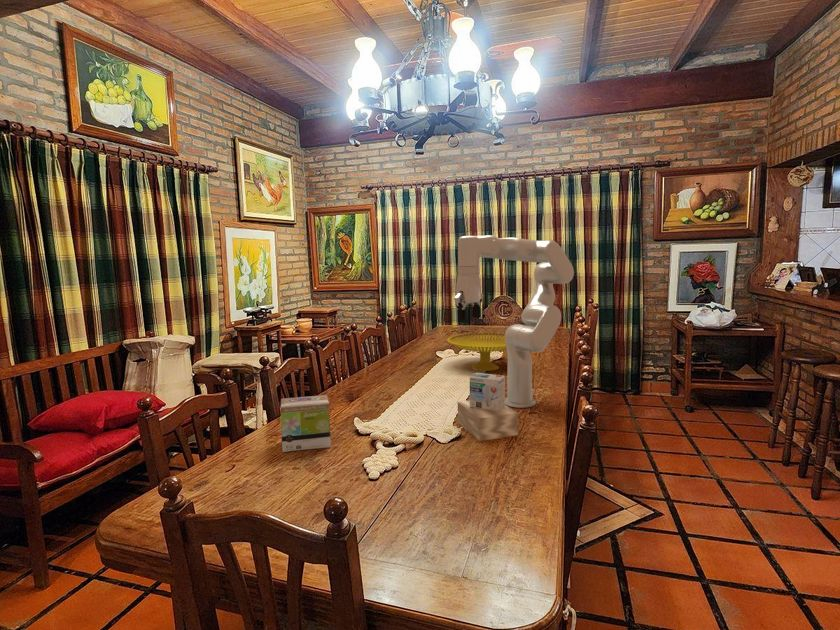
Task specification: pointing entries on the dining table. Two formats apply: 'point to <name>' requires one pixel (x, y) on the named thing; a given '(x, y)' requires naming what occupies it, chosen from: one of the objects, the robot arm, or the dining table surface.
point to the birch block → (487, 421)
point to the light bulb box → (487, 391)
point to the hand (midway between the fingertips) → (469, 319)
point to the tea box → (305, 423)
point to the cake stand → (481, 348)
